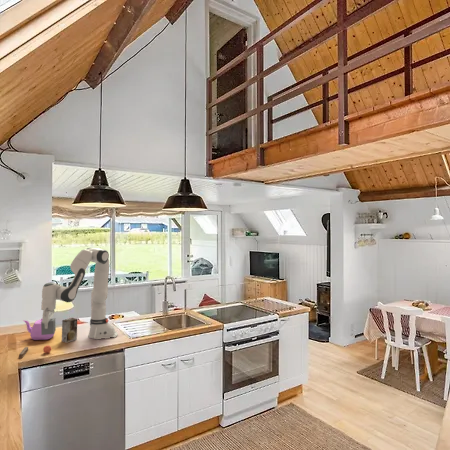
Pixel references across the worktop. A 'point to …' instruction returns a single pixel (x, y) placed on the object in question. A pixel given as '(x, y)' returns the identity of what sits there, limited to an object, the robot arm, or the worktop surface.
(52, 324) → the gray block
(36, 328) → the teapot
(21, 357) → the bar
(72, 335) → the coffee box
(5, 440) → the worktop surface
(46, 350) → the ball
